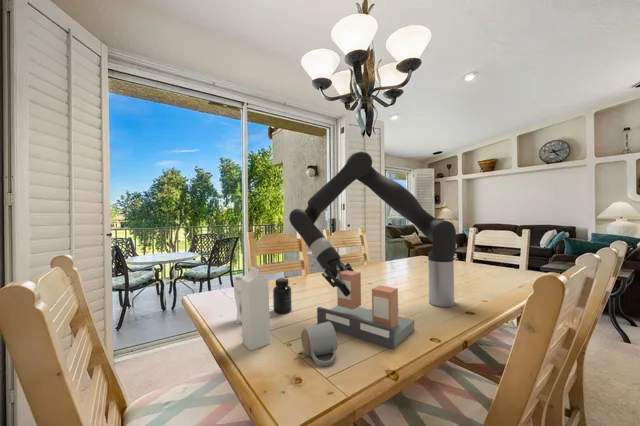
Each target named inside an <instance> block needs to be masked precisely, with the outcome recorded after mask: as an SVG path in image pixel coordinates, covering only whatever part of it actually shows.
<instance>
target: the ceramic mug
mask: <svg viewBox="0 0 640 426" xmlns="http://www.w3.org/2000/svg"><path fill="white" fill-rule="evenodd" d="M300 338H301V344H302V349H303V352H304V354H305V355H306V357H311V358H312V359H313V361H314V362H315V364H317V365H319V366H322V367H326V366H327V367H328V366H330V365H331V364H333V363H334V361H335V358H336V352H337V351H338V337H337V333H336V330H335V329H334V327H333V325H332V323H331V322H324V323H321V324H313V325H309V326H306V327H304V328H303V329H302V331H301V337H300ZM328 354H332V357H331V358H330V359H329V360H320V359H318V358H317V356H321V355H322V356H323V355H328Z"/></svg>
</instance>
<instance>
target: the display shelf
mask: <svg viewBox="0 0 640 426" xmlns="http://www.w3.org/2000/svg"><path fill="white" fill-rule="evenodd" d="M316 310H317V311H316V323H317V324H321V323H324V322H331V323H332V325H333V327H334V329H335V332H336V331H337V332H340V333H343V334H346V335H347V336H351V337H355V338H358V339H361V340H364V341H367V342H369V343H372V344H375V345H378V346H381V347H385V348H387V349H391V350H394V349H395V348H396V347H397V346H398V345H400V344H401V343H402V342H403V341H404V340H405V339H406V338H407V337H408V336H409V335H411V334H412V332H414V331H415V320H414V319H410V318H406V317H403V316H398V325H397V326H396V327H395V328H394V327H390V326H387V325H383V324H379V323H376V322H372V309H371V308H370V309H369V308H366V307H361V306H359V307H357V308H355V309H353V310H352V309H348V308H344V307H341V306H338V305H336V306H334V307H332V308H330V309H328V308H325V307H321V306H318V307H316ZM317 324H316V325H317Z"/></svg>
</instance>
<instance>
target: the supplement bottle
mask: <svg viewBox="0 0 640 426" xmlns="http://www.w3.org/2000/svg"><path fill="white" fill-rule="evenodd" d="M289 284H290V283H289V279H288V278H285V277H283V278H282V277H281V278H276V279H275V286H274V288H273V290H272V292H273V293H272V295H273V296H272V297H273V298H272V299H273V302H272V303H273V307H272V308H273V312H274V313H275V314H278V315H286V314H289V313H290V312H291V311H292V307H293V305H292V303H293V302H292V288H291V286H290V285H289Z"/></svg>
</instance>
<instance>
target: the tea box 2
mask: <svg viewBox="0 0 640 426" xmlns="http://www.w3.org/2000/svg"><path fill="white" fill-rule="evenodd" d="M398 291H399V288H397V287H391V286H385V285H381V284H379V285H378V286H375V287H373V288H371V305H372V306H371V308H372V309H371V310H372V322H376V323H379V324H383V325H387V326H390V327H394V328H395V327H396V326H397V325H398V317H399V292H398Z"/></svg>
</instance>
